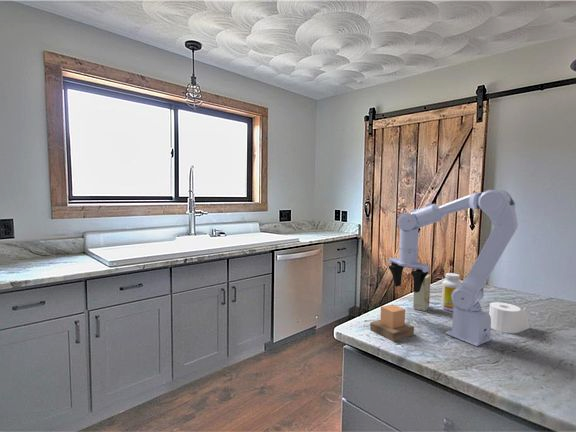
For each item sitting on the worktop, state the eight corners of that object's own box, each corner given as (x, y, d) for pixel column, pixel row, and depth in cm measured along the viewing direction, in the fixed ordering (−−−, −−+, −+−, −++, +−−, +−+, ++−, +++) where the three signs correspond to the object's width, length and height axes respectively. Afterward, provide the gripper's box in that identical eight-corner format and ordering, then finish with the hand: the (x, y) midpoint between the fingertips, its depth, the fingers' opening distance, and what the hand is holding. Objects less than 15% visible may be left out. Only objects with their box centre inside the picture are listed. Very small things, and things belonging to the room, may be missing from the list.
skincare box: (425, 311, 116) (426, 278, 116) (412, 309, 119) (413, 276, 118) (429, 306, 122) (431, 274, 121) (417, 304, 124) (418, 272, 123)
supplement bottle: (464, 312, 116) (466, 276, 115) (446, 311, 117) (447, 276, 116) (455, 305, 123) (457, 272, 122) (438, 305, 123) (439, 272, 122)
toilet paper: (529, 328, 103) (531, 306, 103) (510, 335, 98) (512, 313, 97) (502, 319, 110) (503, 299, 110) (483, 325, 105) (484, 304, 104)
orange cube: (404, 325, 98) (405, 309, 98) (392, 328, 96) (393, 312, 96) (392, 319, 103) (392, 304, 102) (380, 322, 100) (380, 306, 100)
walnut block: (413, 336, 98) (414, 326, 98) (393, 343, 93) (393, 333, 93) (390, 325, 105) (390, 316, 105) (370, 331, 101) (370, 322, 101)
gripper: (383, 246, 112) (382, 285, 113) (419, 253, 100) (418, 296, 101) (397, 244, 116) (395, 282, 117) (433, 251, 103) (432, 293, 104)
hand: (407, 288), depth 109 cm, fingers open, 7 cm apart
